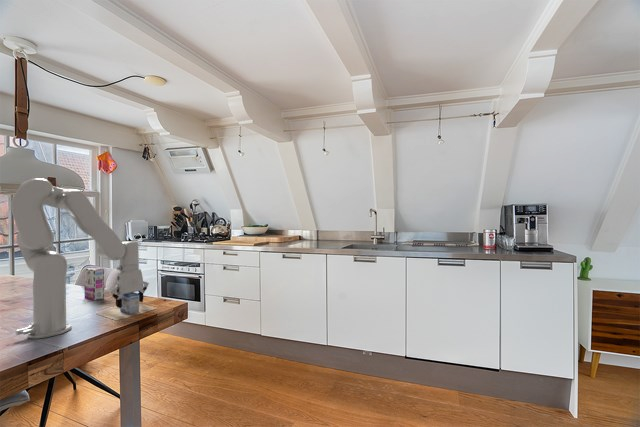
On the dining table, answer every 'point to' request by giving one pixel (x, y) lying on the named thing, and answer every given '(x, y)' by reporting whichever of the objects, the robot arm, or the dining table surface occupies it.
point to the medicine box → (130, 303)
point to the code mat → (119, 315)
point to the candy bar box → (94, 283)
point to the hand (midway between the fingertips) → (130, 304)
